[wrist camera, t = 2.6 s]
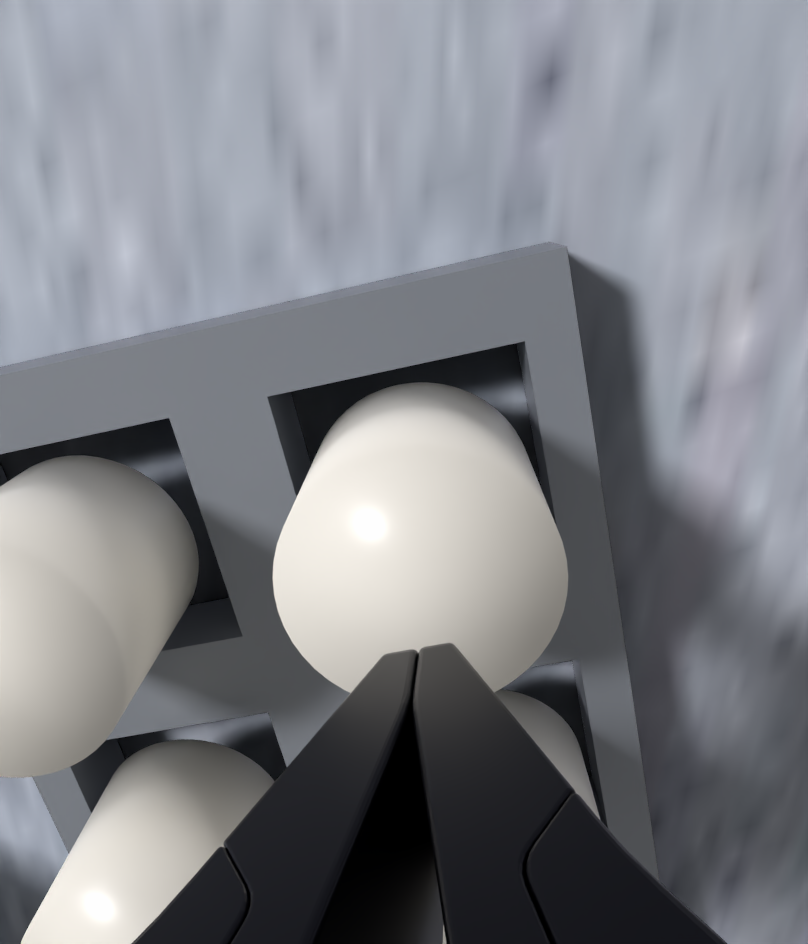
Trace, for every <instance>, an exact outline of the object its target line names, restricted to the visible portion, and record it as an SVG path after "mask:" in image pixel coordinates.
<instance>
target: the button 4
mask: <svg viewBox="0 0 808 944" xmlns="http://www.w3.org/2000/svg"><path fill="white" fill-rule="evenodd" d="M494 693H495V694H496V695H497V697H498V698H499V699H500V700H501V701H502V703H503V704H504V705H505V706H506V708H507V709H508V710H509V711H510V712H511V714H512V715H513V716H514V717H515V718H516V720H517V721H518V722H519V723H520V724H521V726H522V727H523V728H524V729H525V731H526V732H527V733H528V734H529V735H530V737H531V738H532V739H533V740H534V741H535V743H536V744H537V745H538V746H539V747H540V749H541V750H542V751H543V752H544V753H545V755H546V756H547V757H548V758H549V760H550V761H551V762H552V763H553V764H554V766H555V767H556V768H557V769H558V770H559V772H560V773H561V774H562V775H563V776H564V778H565V779H566V780H567V781H568V782H569V784H570V785H571V786H572V787H573V789H574V790H575V792H576V794H578V795H580V796H581V798H582V799H583V800H584V801H585V802H586V804H587V805H588V806H589V807H590V808H591V810H592V811H593V812H594V813H595V815H596V816H597V817H598V818H599V819H600V816H599V813H598V809H597V806H596V802H595V799H594V795H593V791H592V788H591V784H590V781H589V777H588V774H587V770H586V767H585V763H584V760H583V756H582V752H581V749H580V745H579V743H578V740H577V738H576V736H575V734H574V732H573V731H572V729H571V728H570V726H569V725H568V724H567V723H566V721H565V720H564V719H563V718H562V717H561V716H560V715H559V714H558V713H557V712H555V711H554V710H553V709H552V708H550V707H549V706H547V705H546V704H544V703H543V702H541V701H539V700H536V699H534V698H532V697H530V696H527V695H524V694H521V693H518V692H514V691H509V690H502V689H500V690H498V691H496V692H494ZM443 944H446V937H445V930H444V924H443Z"/></svg>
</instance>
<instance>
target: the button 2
mask: <svg viewBox="0 0 808 944" xmlns="http://www.w3.org/2000/svg"><path fill="white" fill-rule="evenodd" d="M274 782H275V781H274V780H273V779H272V778H271V776H270V775H269V774H268V773H267V772H266V771H265V770H264V769H263V768H262V767H261V766H260V765H258V764H257V763H256V762H254V761H253V760H252V759H250V758H248V757H247V756H245V755H243V754H242V753H240V752H238V751H235V750H233V749H231V748H229V747H226V746H223V745H220V744H217V743H212V742H207V741H201V740H171V741H165V742H160V743H156V744H153V745H151V746H148V747H145V748H143V749H141V750H139V751H138V752H136V753H134V754H133V755H131V756H130V757H129V758H127V759H126V760H125V761H124V762H123V763H122V764H121V765H120V766H119V767H118V769H117V770H116V771H115V773H114V774H113V776H112V778H111V779H110V781H109V783H108V785H107V787H106V788H105V790H104V792H103V794H102V796H101V797H100V799H99V801H98V803H97V805H96V806H95V808H94V810H93V812H92V814H91V815H90V817H89V819H88V821H87V823H86V824H85V826H84V828H83V830H82V832H81V833H80V835H79V837H78V839H77V840H76V842H75V844H74V846H73V848H72V849H71V851H70V853H69V855H68V857H67V858H66V860H65V862H64V864H63V866H62V867H61V869H60V871H59V873H58V875H57V876H56V878H55V880H54V882H53V884H52V885H51V887H50V889H49V891H48V893H47V894H46V896H45V898H44V900H43V902H42V903H41V905H40V907H39V909H38V911H37V912H36V914H35V916H34V918H33V920H32V921H31V923H30V925H29V927H28V928H27V930H26V932H25V934H24V936H23V938H22V941H21V944H131V943H132V942H133V941H134V940H135V939H136V938H137V937H138V936H139V935H140V934H141V933H142V932H143V931H144V930H145V929H146V928H147V927H148V926H149V925H150V924H151V923H152V922H153V921H154V920H155V919H156V918H157V917H158V916H159V914H160V913H161V912H162V911H163V910H164V909H165V908H166V907H167V905H168V904H169V903H170V902H171V901H172V900H173V899H174V898H175V897H176V895H177V894H178V893H179V892H180V891H181V890H182V889H183V888H184V886H185V885H186V884H187V883H188V882H189V881H190V880H191V879H192V878H193V876H194V875H195V874H196V873H197V872H198V871H199V869H200V868H201V867H202V866H203V865H204V864H205V862H206V861H207V860H208V859H209V858H210V857H211V855H212V854H213V853H214V852H215V851H216V850H217V848H219V847H224V845H223V843H224V841H225V839H226V838H227V837H228V836H229V835H230V834H231V832H232V831H233V830H234V829H235V828H236V827H237V825H238V824H239V823H240V822H241V821H242V820H243V818H244V817H245V816H246V815H247V814H248V813H249V811H250V810H251V809H252V808H253V807H254V806H255V804H256V803H257V802H258V801H259V800H260V798H261V797H262V796H263V795H264V794H265V793H266V791H267V790H268V789H269V788H270V787H271V786H272V784H273V783H274Z"/></svg>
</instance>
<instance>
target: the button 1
mask: <svg viewBox="0 0 808 944" xmlns="http://www.w3.org/2000/svg"><path fill="white" fill-rule="evenodd" d="M198 575H199V557H198V549H197V545H196V541H195V538H194V534H193V532H192V530H191V527H190V525H189V523H188V521H187V519H186V518H185V516H184V514H183V512H182V511H181V509H180V508H179V507H178V505H177V504H176V503H175V501H174V500H173V499H172V498H171V497H170V496H169V495H168V494H167V493H166V492H165V491H164V490H163V489H162V488H161V487H160V486H159V485H157V484H156V483H155V482H154V481H152V480H151V479H149V478H148V477H146V476H145V475H143V474H142V473H140V472H138V471H136V470H134V469H132V468H130V467H128V466H126V465H124V464H121V463H118V462H115V461H113V460H109V459H104V458H100V457H93V456H84V455H77V456H63V457H56V458H53V459H49V460H46V461H42V462H40V463H38V464H36V465H33V466H31V467H29V468H28V469H26V470H25V471H23V472H22V473H20V474H19V475H17V476H15V477H14V478H12V479H11V480H9V481H8V482H6V483H5V484H3V485H2V486H0V777H22V778H24V777H33V776H41V775H45V774H50V773H54V772H57V771H60V770H63V769H65V768H68V767H70V766H72V765H74V764H76V763H78V762H80V761H82V760H84V759H85V758H86V757H88V756H89V755H90V754H92V753H93V752H94V751H96V750H97V749H98V748H99V747H100V746H101V745H102V744H103V743H104V742H105V740H106V739H107V738H108V736H109V735H110V734H111V732H112V731H113V729H114V728H115V726H116V724H117V723H118V721H119V719H120V718H121V716H122V715H123V713H124V711H125V710H126V708H127V706H128V705H129V703H130V701H131V700H132V698H133V696H134V695H135V693H136V691H137V690H138V688H139V686H140V685H141V683H142V681H143V680H144V678H145V676H146V675H147V673H148V672H149V670H150V668H151V667H152V665H153V663H154V662H155V660H156V658H157V657H158V655H159V653H160V652H161V650H162V648H163V647H164V645H165V643H166V642H167V640H168V638H169V637H170V635H171V633H172V632H173V630H174V629H175V627H176V625H177V624H178V622H179V620H180V619H181V617H182V615H183V614H184V612H185V610H186V609H187V607H188V605H189V603H190V601H191V599H192V597H193V595H194V592H195V589H196V586H197V581H198Z"/></svg>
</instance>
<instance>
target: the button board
mask: <svg viewBox="0 0 808 944" xmlns="http://www.w3.org/2000/svg"><path fill="white" fill-rule="evenodd" d="M514 343H517V348H518V354H519V360H520V366H521V371H522V377H523V383H524V389H525V394H526V400H527V406H528V411H529V417H530V423H531V429H532V434H533V440H534V446H535V452H536V457H537V463H538V469H539V475H540V480H541V486H542V492H543V494H544V497H545V499H546V502H547V504H548V507H549V509H550V512H551V514H552V517H553V519H554V522H555V524H556V527H557V529H558V532H559V534H560V537H561V539H562V542H563V546H564V550H565V554H566V558H567V568H568V591H567V598H566V603H565V608H564V612H563V614H562V617H561V620H560V623H559V626H558V628H557V630H556V632H555V634H554V635H553V637H552V639H551V641H550V643H549V644H548V646H547V647H546V648H545V650H544V651H543V653H542V654H541V655H540V657H539V658H538V659H537V660H536V661H535V662H534V663H533V664H532V665H531V666H530V667H536V666H542V665H548V664H554V663H560V662H566V661H571V660H572V664H573V670H574V675H575V681H576V687H577V693H578V698H579V704H580V710H581V716H582V721H583V727H584V733H585V739H586V744H587V750H588V756H589V761H590V767H591V773H592V777H589V781H590V784H591V788H592V791H593V795H594V799H595V802H596V806H597V809H598V813H599V816H600V820H601V821H602V823H603V824H604V825H605V826H606V827H607V828H608V829H609V830H610V831H611V833H612V834H613V835H614V836H615V837H616V838H617V839H618V840H619V841H620V843H621V844H622V845H623V846H624V847H625V848H626V849H627V850H628V851H629V853H630V854H632V855H633V856H634V857H635V858H636V859H637V860H638V861H639V862H640V863H641V864H642V865H643V866H644V867H645V868H646V869H647V870H648V871H649V872H650V873H651V874H652V875H653V876H654V877H655V878H656V879H658V880H659V874H658V867H657V860H656V853H655V846H654V840H653V833H652V826H651V819H650V812H649V805H648V799H647V792H646V785H645V778H644V771H643V764H642V758H641V751H640V744H639V737H638V730H637V723H636V717H635V710H634V703H633V696H632V689H631V682H630V675H629V669H628V662H627V655H626V648H625V641H624V634H623V628H622V621H621V614H620V607H619V600H618V593H617V587H616V580H615V573H614V566H613V559H612V552H611V546H610V539H609V532H608V525H607V518H606V511H605V505H604V498H603V491H602V484H601V477H600V470H599V464H598V457H597V450H596V443H595V436H594V429H593V423H592V416H591V409H590V402H589V395H588V388H587V381H586V375H585V368H584V361H583V354H582V347H581V340H580V334H579V327H578V320H577V313H576V306H575V299H574V293H573V286H572V279H571V272H570V265H569V258H568V252H567V247H566V246H563V245H559V244H555V243H552V242H547V243H543V244H538V245H534V246H530V247H525V248H521V249H516V250H512V251H508V252H503V253H499V254H495V255H490V256H486V257H481V258H477V259H473V260H468V261H464V262H460V263H455V264H451V265H446V266H442V267H438V268H433V269H429V270H424V271H420V272H416V273H411V274H407V275H403V276H398V277H394V278H389V279H385V280H381V281H376V282H372V283H368V284H363V285H359V286H354V287H350V288H346V289H341V290H337V291H332V292H328V293H324V294H319V295H315V296H311V297H306V298H302V299H297V300H293V301H289V302H284V303H280V304H276V305H271V306H267V307H262V308H258V309H254V310H249V311H245V312H240V313H236V314H232V315H227V316H223V317H219V318H214V319H210V320H205V321H201V322H197V323H192V324H188V325H183V326H179V327H175V328H170V329H166V330H162V331H157V332H153V333H148V334H144V335H140V336H135V337H131V338H127V339H122V340H118V341H113V342H109V343H105V344H100V345H96V346H91V347H87V348H83V349H78V350H74V351H70V352H65V353H61V354H56V355H52V356H48V357H43V358H39V359H35V360H30V361H26V362H21V363H17V364H13V365H8V366H4V367H0V454H4V453H9V452H13V451H18V450H22V449H27V448H32V447H36V446H41V445H46V444H50V443H55V442H60V441H64V440H69V439H74V438H78V437H83V436H87V435H92V434H97V433H101V432H106V431H111V430H115V429H120V428H125V427H129V426H134V425H139V424H143V423H148V422H152V421H157V420H162V419H166V418H169V419H170V422H171V425H172V428H173V431H174V434H175V437H176V440H177V443H178V446H179V449H180V452H181V455H182V458H183V461H184V464H185V467H186V470H187V473H188V476H189V479H190V481H191V484H192V487H193V490H194V493H195V496H196V499H197V502H198V505H199V508H200V511H201V514H202V517H203V520H204V523H205V526H206V529H207V532H208V535H209V538H210V541H211V544H212V547H213V550H214V553H215V556H216V559H217V562H218V565H219V568H220V571H221V574H222V577H223V580H224V582H225V585H226V588H227V591H228V594H229V597H230V598H226V599H221V600H216V601H210V602H205V603H200V604H194V605H189V606H188V607H187V609H186V610H185V612H184V614H183V615H182V617H181V619H180V620H179V622H178V624H177V625H176V627H175V629H174V630H173V632H172V633H171V635H170V637H169V638H168V640H167V642H166V643H165V645H164V647H163V648H162V650H161V652H160V653H159V655H158V657H157V658H156V660H155V662H154V663H153V665H152V667H151V668H150V670H149V672H148V673H147V675H146V676H145V678H144V680H143V681H142V683H141V685H140V686H139V688H138V690H137V691H136V693H135V695H134V696H133V698H132V700H131V701H130V703H129V705H128V706H127V708H126V710H125V711H124V713H123V715H122V716H121V718H120V719H119V721H118V723H117V724H116V726H115V728H114V729H113V731H112V732H111V734H110V735H109V736H108V738H107V739H106V740H105V742H104V743H103V744H102V745H101V746H100V747H99V748H98V749H97V750H96V751H94V752H93V753H92V754H90V755H89V756H88V757H86V758H85V759H84V760H82V761H80V762H78V763H76V764H74V765H72V766H70V767H68V768H65V769H63V770H60V771H57V772H54V773H50V774H45V775H41V776H33V779H34V781H35V784H36V786H37V788H38V790H39V792H40V794H41V796H42V798H43V800H44V802H45V805H46V807H47V809H48V811H49V813H50V815H51V817H52V819H53V821H54V824H55V826H56V828H57V830H58V832H59V834H60V836H61V838H62V840H63V842H64V845H65V847H66V849H67V851H68V853H70V851H71V849H72V848H73V846H74V844H75V842H76V840H77V839H78V837H79V835H80V833H81V832H82V830H83V828H84V826H85V824H86V823H87V821H88V819H89V817H90V815H91V814H92V812H93V810H94V808H95V806H96V805H97V803H98V801H99V799H100V797H101V796H102V794H103V792H104V790H105V788H106V787H107V785H108V783H109V781H110V779H111V778H112V776H113V774H114V773H115V771H116V770H117V769H118V767H119V766H120V765H121V764H122V763H123V762H124V761H125V758H124V756H123V754H122V751H121V749H120V747H119V744H118V742H117V739H116V738H121V737H127V736H133V735H138V734H144V733H150V732H156V731H162V730H168V729H174V728H179V727H185V726H191V725H197V724H203V723H209V722H215V721H220V720H226V719H232V718H238V717H244V716H250V715H255V714H261V713H267V712H268V713H269V716H270V719H271V722H272V725H273V728H274V731H275V734H276V737H277V740H278V743H279V746H280V749H281V752H282V755H283V758H284V761H285V764H286V767H288V766H289V765H290V763H291V762H292V761H293V760H294V759H295V758H296V756H297V755H298V754H299V753H300V752H301V751H302V749H303V748H304V747H305V746H306V745H307V743H308V742H309V741H310V740H311V739H312V738H313V736H314V735H315V734H316V733H317V732H318V731H319V729H320V728H321V727H322V726H323V725H324V724H325V722H326V721H327V720H328V719H329V718H330V717H331V715H332V714H333V713H334V712H335V711H336V710H337V708H338V707H339V706H340V705H341V704H342V703H343V701H344V700H345V699H346V698H347V697H348V695H349V694H350V692H347V691H345V690H343V689H342V688H340V687H339V686H337V685H335V684H334V683H332V682H331V681H329V680H328V679H327V678H325V677H324V676H323V675H322V674H320V673H319V672H318V671H317V670H315V669H314V668H313V667H312V666H311V664H310V663H309V662H308V661H307V660H306V659H305V658H304V657H303V656H302V655H301V653H300V652H299V651H298V649H297V648H296V647H295V645H294V644H293V643H292V641H291V639H290V637H289V635H288V634H287V632H286V630H285V628H284V626H283V623H282V621H281V618H280V616H279V613H278V610H277V605H276V601H275V597H274V589H273V561H274V556H275V551H276V546H277V542H278V540H279V537H280V534H281V531H282V529H283V526H284V524H285V522H286V520H287V517H288V515H289V513H290V511H291V509H292V506H293V504H294V502H295V500H296V498H297V495H298V493H299V491H300V489H301V487H302V485H303V482H304V480H305V478H306V476H307V474H308V471H309V469H310V467H311V463H310V460H309V456H308V452H307V449H306V445H305V442H304V438H303V434H302V431H301V427H300V424H299V420H298V416H297V413H296V409H295V406H294V402H293V399H292V395H291V392H292V391H296V390H301V389H306V388H310V387H315V386H320V385H324V384H329V383H333V382H338V381H343V380H347V379H352V378H357V377H361V376H366V375H371V374H375V373H380V372H385V371H389V370H394V369H398V368H403V367H408V366H412V365H417V364H422V363H426V362H431V361H436V360H440V359H445V358H449V357H454V356H459V355H463V354H468V353H473V352H477V351H482V350H487V349H491V348H496V347H501V346H505V345H510V344H514ZM6 482H8V481H7V478H6V476H5V474H4V471H3V469H2V467H1V464H0V486H2V485H3V484H5V483H6ZM530 667H529V668H530Z"/></svg>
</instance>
